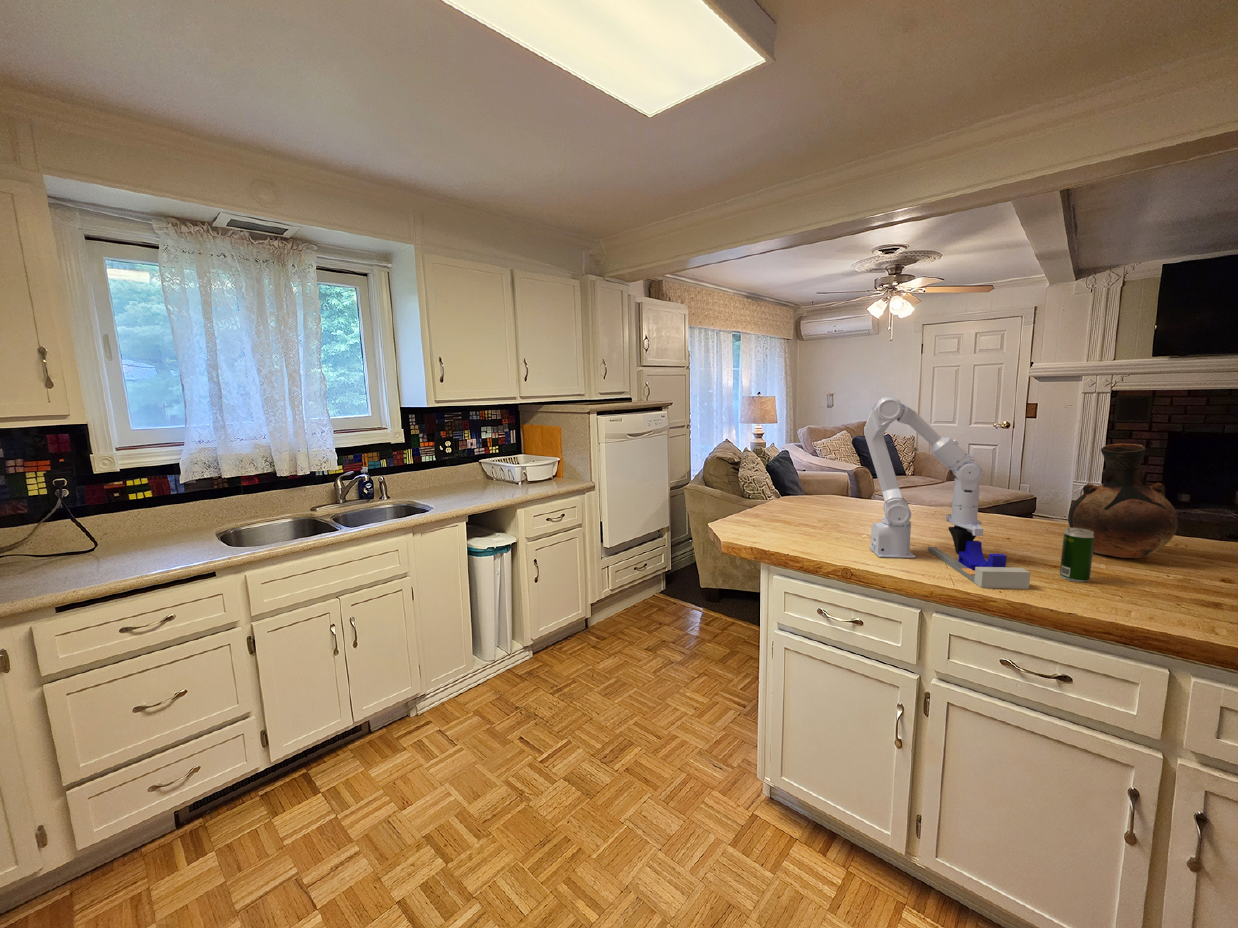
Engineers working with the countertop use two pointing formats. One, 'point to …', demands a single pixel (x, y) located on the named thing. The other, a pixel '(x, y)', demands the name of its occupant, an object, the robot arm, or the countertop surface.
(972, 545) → the cable clip
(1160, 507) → the ceramic vessel
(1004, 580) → the cable guide
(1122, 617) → the countertop surface
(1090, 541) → the beer can
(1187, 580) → the countertop surface
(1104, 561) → the countertop surface
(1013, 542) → the countertop surface
